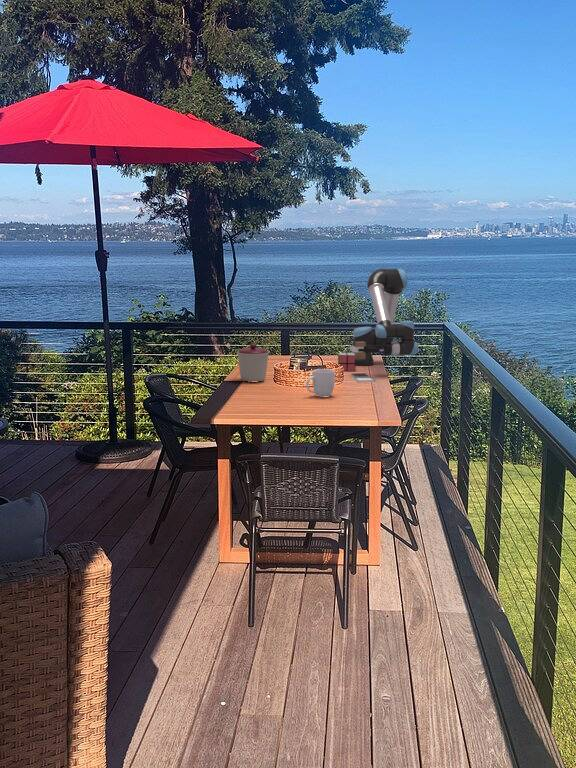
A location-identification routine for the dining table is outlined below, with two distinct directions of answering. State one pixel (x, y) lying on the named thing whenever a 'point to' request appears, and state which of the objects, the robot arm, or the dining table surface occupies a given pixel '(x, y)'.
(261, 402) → the dining table surface
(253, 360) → the canister
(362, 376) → the ink pad
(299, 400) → the dining table surface
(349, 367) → the puzzle cube
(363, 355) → the stamp
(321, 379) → the mug
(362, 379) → the print board
